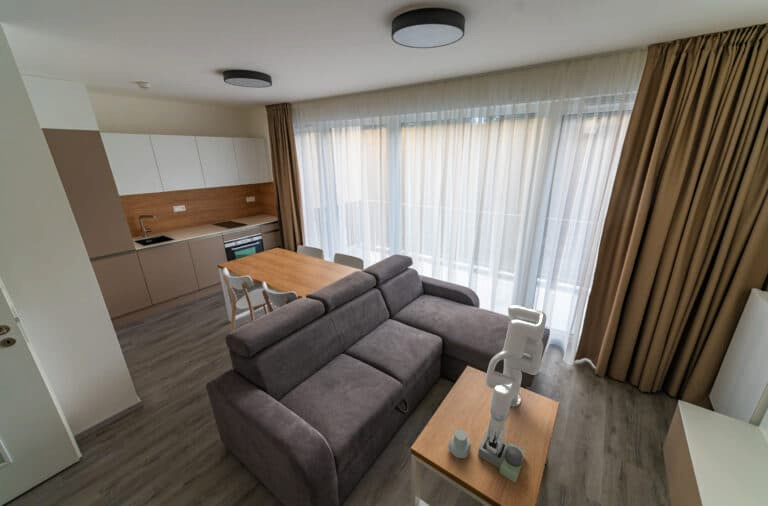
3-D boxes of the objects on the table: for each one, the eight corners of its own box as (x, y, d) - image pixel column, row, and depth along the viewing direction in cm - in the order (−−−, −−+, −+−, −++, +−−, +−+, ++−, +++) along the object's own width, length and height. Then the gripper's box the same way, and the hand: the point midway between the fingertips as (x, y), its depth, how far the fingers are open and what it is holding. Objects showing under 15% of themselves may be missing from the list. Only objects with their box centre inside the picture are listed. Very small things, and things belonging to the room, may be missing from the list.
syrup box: (502, 449, 134) (506, 426, 130) (496, 458, 130) (500, 435, 126) (490, 441, 138) (493, 418, 133) (484, 450, 134) (488, 427, 129)
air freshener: (455, 436, 143) (457, 421, 140) (472, 446, 138) (474, 431, 135) (446, 454, 135) (447, 438, 131) (462, 465, 130) (464, 449, 127)
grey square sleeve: (487, 436, 143) (488, 425, 141) (524, 457, 133) (526, 446, 130) (476, 458, 133) (477, 447, 130) (515, 483, 122) (518, 471, 120)
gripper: (497, 394, 135) (493, 423, 141) (484, 420, 122) (479, 450, 128) (514, 402, 131) (508, 432, 136) (502, 430, 118) (496, 461, 124)
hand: (494, 440), depth 132 cm, fingers closed on syrup box, 6 cm apart
